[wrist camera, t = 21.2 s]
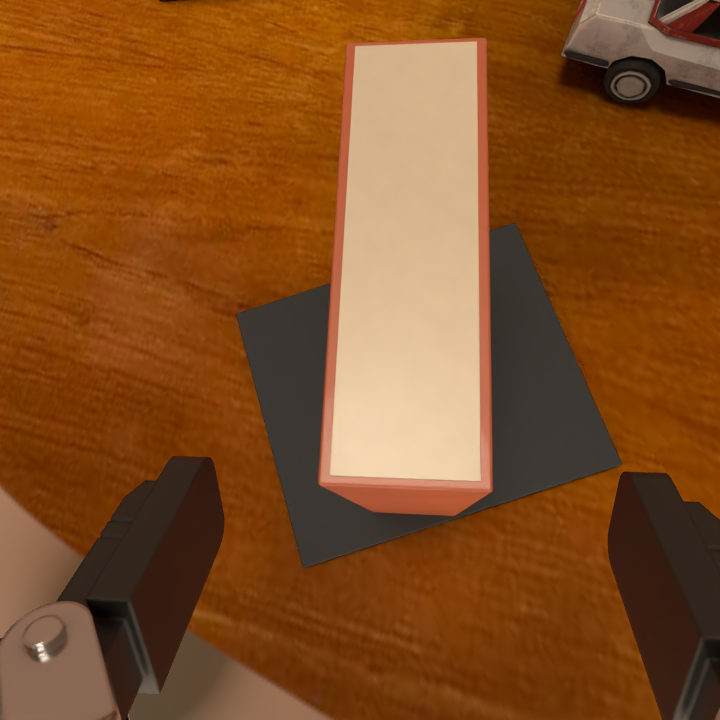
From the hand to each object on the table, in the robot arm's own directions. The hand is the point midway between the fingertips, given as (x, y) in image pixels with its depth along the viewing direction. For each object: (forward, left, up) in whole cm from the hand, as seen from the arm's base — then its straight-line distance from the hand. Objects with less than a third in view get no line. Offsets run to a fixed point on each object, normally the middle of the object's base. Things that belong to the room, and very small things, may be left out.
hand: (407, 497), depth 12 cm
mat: (+2, +5, -14) cm, 16 cm away
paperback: (+2, +5, -14) cm, 15 cm away
